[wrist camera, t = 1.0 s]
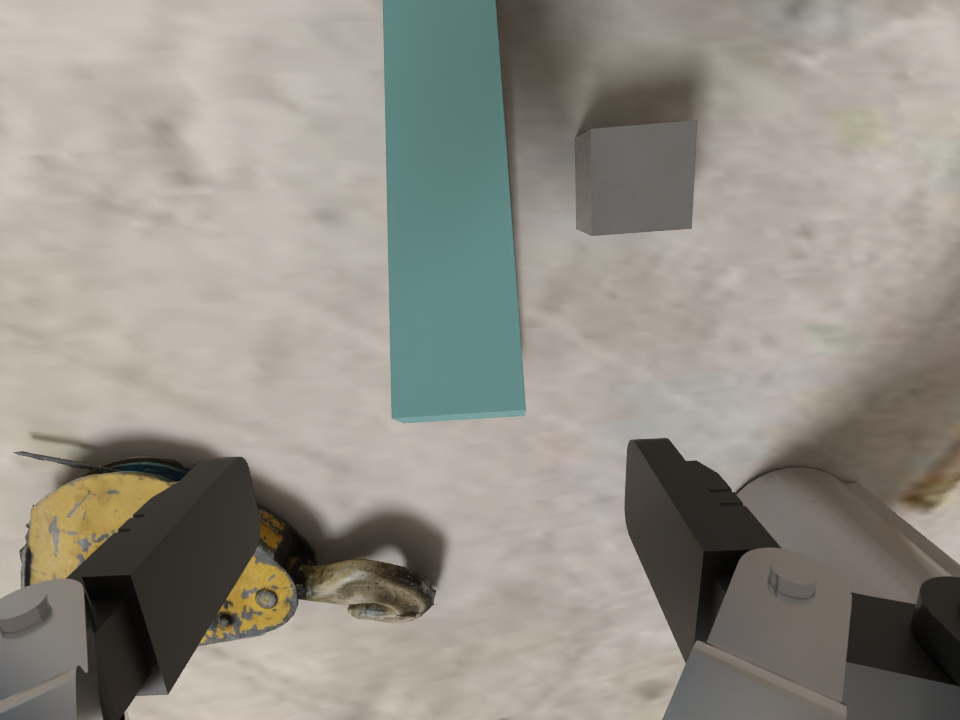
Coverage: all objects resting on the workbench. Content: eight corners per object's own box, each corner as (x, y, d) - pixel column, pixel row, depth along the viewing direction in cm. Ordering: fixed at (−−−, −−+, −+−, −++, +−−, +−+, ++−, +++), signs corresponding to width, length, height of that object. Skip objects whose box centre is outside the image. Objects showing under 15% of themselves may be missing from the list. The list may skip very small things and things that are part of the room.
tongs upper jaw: (485, -110, 24) (483, -162, 22) (524, 416, 19) (525, 409, 17) (390, -100, 24) (379, -150, 22) (403, 423, 19) (391, 418, 17)
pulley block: (412, 727, 35) (-38, 652, 34) (420, 664, 41) (36, 598, 40) (451, 538, 33) (-29, 451, 32) (454, 499, 39) (48, 424, 38)
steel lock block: (663, 131, 29) (697, 120, 25) (660, 222, 31) (691, 228, 26) (574, 138, 30) (590, 128, 25) (576, 228, 31) (591, 235, 26)
